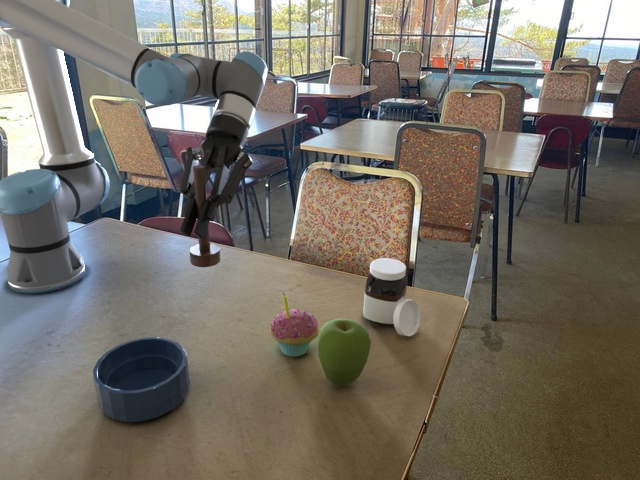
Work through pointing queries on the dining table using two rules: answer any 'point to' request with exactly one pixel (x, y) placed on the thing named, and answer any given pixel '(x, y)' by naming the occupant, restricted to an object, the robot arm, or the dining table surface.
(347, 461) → the dining table surface
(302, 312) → the cupcake
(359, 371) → the apple
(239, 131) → the robot arm
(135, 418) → the bowl
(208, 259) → the wooden peg stand
